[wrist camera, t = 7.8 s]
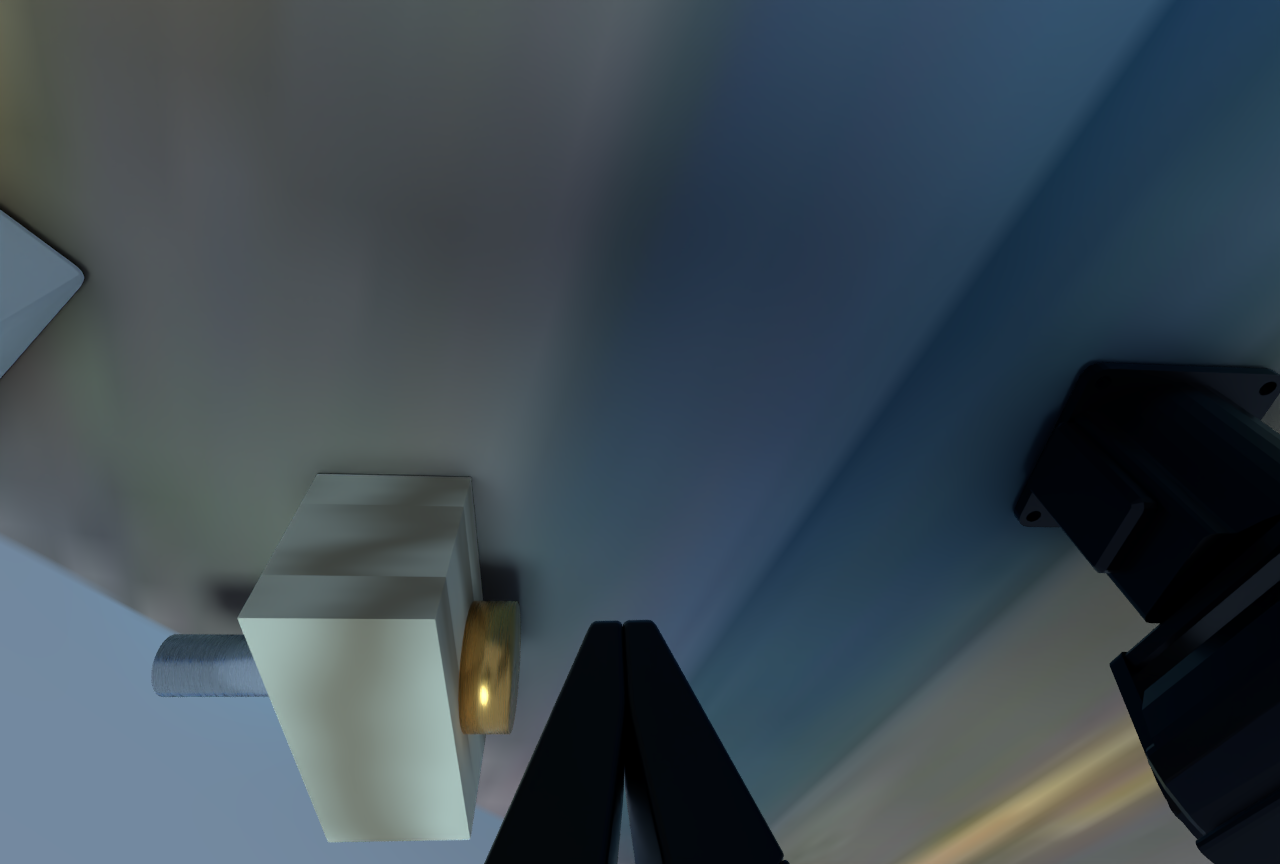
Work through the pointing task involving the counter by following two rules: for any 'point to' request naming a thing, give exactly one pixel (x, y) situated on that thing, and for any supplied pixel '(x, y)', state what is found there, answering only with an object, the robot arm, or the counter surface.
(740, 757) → the counter surface
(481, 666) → the pin
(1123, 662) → the robot arm
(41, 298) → the medicine bottle
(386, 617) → the block
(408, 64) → the counter surface
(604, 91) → the counter surface
